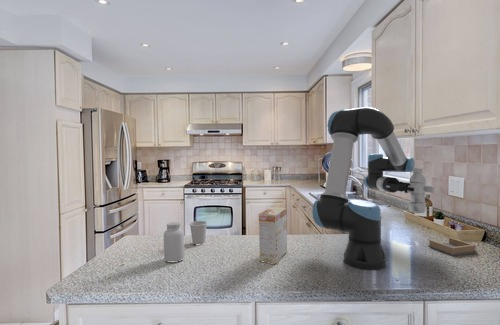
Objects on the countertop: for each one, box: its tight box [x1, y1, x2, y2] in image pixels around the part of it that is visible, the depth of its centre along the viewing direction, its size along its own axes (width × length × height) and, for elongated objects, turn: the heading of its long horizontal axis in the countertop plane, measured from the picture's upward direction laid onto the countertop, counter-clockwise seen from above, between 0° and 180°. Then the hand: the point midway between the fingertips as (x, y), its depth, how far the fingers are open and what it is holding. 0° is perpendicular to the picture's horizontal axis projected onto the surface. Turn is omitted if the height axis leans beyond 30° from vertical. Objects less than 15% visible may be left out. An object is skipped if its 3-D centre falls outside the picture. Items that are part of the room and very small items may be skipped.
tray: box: [428, 237, 478, 257], centre depth 119 cm, size 12×12×3 cm
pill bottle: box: [163, 221, 185, 262], centre depth 113 cm, size 8×8×15 cm
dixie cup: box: [189, 220, 208, 245], centre depth 134 cm, size 8×8×10 cm
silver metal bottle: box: [408, 167, 427, 214], centre depth 124 cm, size 6×7×20 cm
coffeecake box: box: [258, 206, 288, 265], centre depth 114 cm, size 15×7×20 cm, turn 154°
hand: (427, 190), depth 119 cm, fingers closed on silver metal bottle, 6 cm apart
